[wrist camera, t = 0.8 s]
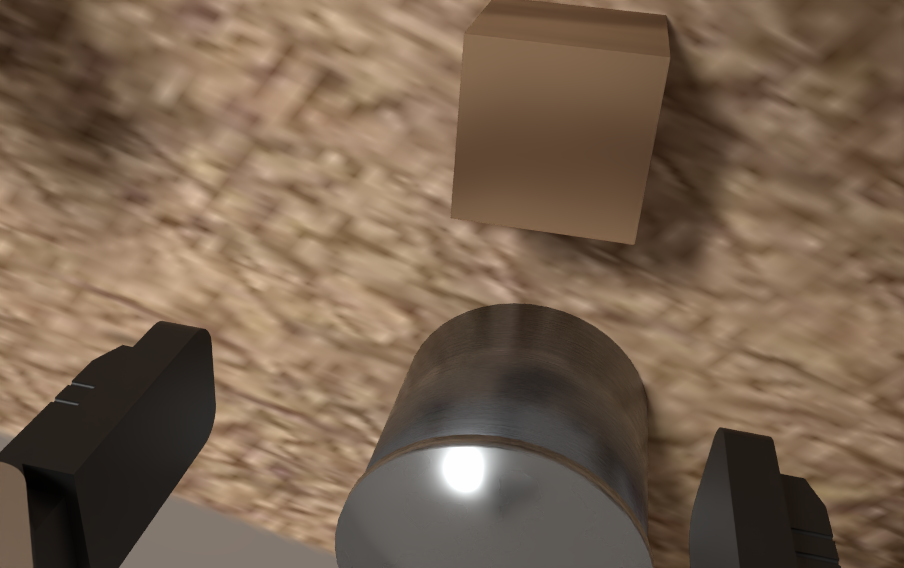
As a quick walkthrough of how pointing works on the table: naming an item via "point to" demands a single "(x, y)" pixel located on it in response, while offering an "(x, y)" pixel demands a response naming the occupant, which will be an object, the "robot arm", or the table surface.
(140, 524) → the robot arm
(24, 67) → the table surface
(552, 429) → the metal tin
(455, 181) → the walnut block
